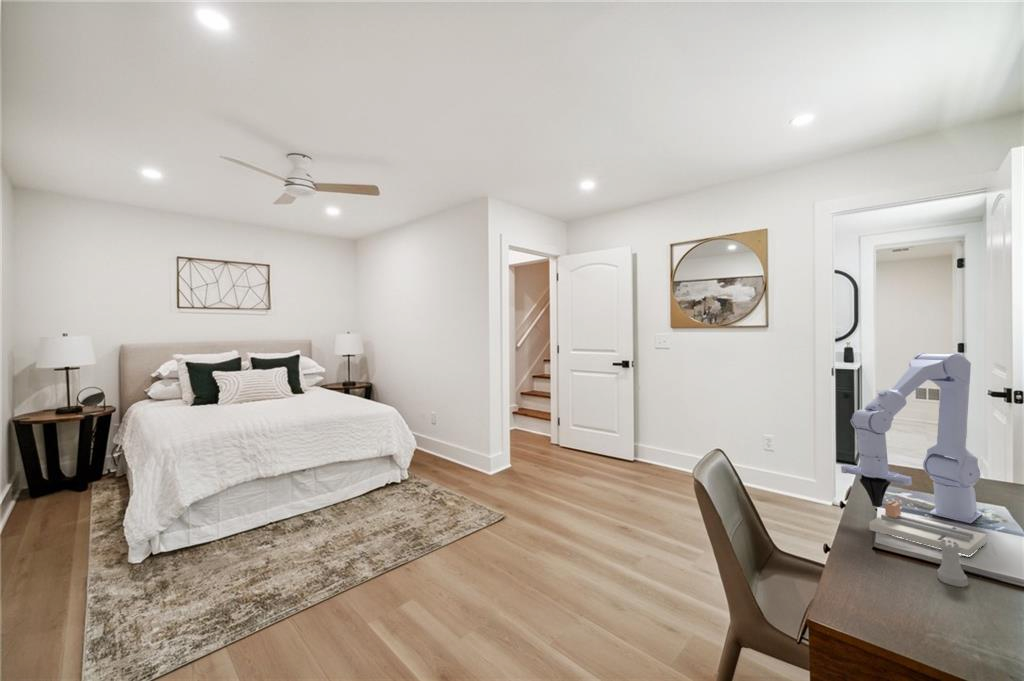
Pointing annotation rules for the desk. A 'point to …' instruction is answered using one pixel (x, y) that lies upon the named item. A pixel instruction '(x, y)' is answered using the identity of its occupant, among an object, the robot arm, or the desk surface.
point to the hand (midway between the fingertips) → (877, 505)
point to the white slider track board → (928, 532)
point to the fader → (892, 509)
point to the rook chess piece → (951, 565)
